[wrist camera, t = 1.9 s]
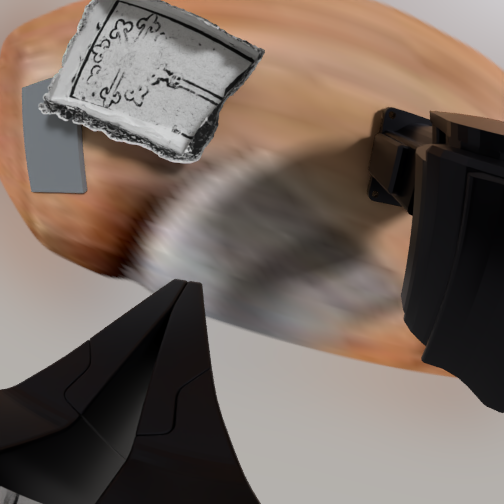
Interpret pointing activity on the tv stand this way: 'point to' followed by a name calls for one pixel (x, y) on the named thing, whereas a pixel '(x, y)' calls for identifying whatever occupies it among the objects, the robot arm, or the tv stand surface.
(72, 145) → the mat
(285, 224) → the tv stand surface
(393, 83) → the tv stand surface
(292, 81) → the tv stand surface
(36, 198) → the tv stand surface
